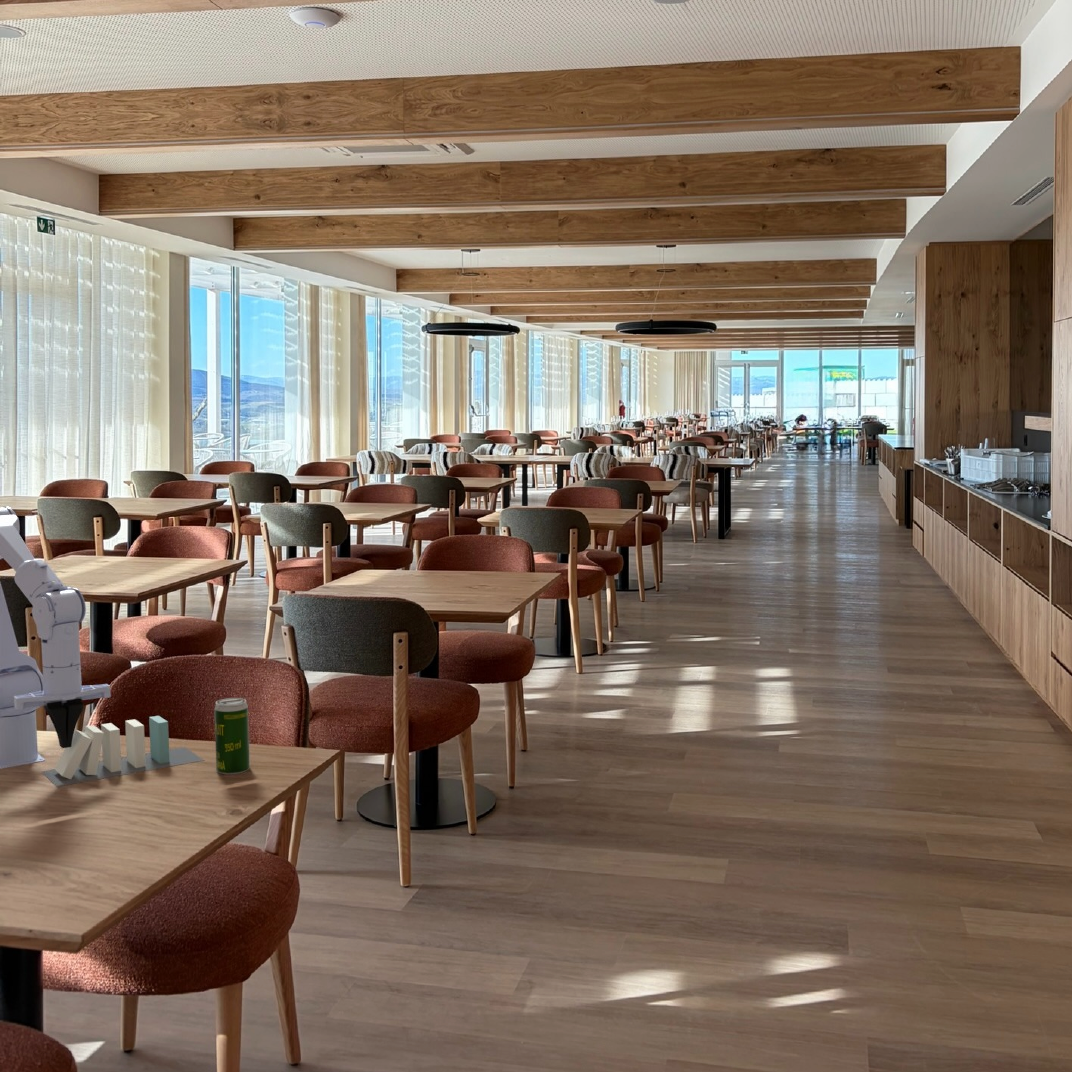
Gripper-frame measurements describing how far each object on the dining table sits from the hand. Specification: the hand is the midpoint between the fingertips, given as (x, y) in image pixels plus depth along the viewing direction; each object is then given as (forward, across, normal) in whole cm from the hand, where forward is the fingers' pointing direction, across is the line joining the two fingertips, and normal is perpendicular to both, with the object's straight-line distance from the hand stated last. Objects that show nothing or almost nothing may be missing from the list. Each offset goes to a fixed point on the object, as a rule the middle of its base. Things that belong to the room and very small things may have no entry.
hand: (65, 746), depth 191 cm
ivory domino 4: (+5, +11, 0) cm, 12 cm away
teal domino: (+5, +15, 0) cm, 16 cm away
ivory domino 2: (+5, +3, 0) cm, 6 cm away
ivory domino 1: (+4, -1, 0) cm, 5 cm away
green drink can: (+6, +23, -13) cm, 27 cm away
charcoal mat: (+5, +9, 0) cm, 11 cm away
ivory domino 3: (+5, +7, 0) cm, 9 cm away
